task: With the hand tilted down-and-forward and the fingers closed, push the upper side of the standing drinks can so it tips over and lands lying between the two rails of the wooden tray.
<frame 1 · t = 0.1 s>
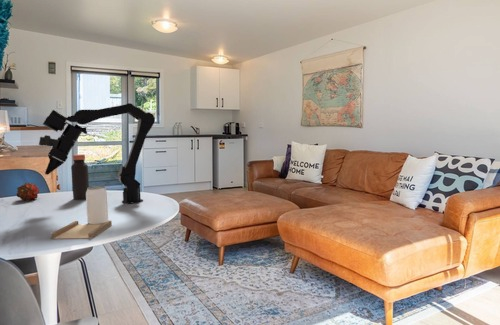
hand: (46, 172, 138), 15 cm above the table, tool tilted 35°, fingers open, 9 cm apart
wooden tray: (83, 231, 111), on the table
can: (98, 223, 121), on the table
bottle: (81, 198, 163), on the table
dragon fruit: (28, 200, 163), on the table
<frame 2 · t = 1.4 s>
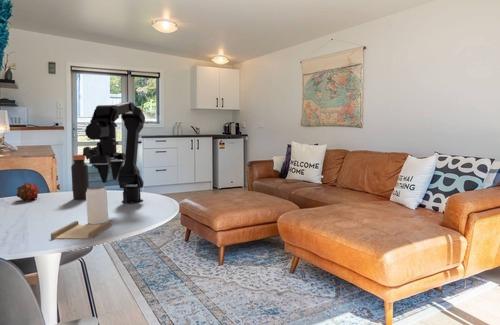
hand: (109, 181, 134), 12 cm above the table, tool pointing down, fingers open, 9 cm apart
nothing on the table moved.
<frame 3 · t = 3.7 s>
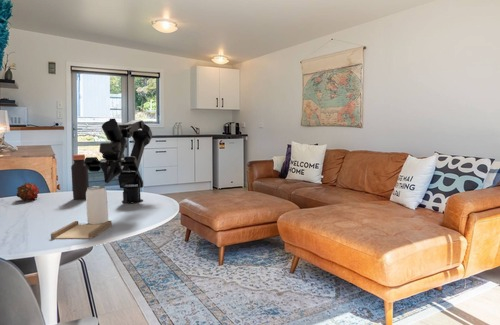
hand: (106, 182, 128), 12 cm above the table, tool tilted 45°, fingers closed
nothing on the table moved.
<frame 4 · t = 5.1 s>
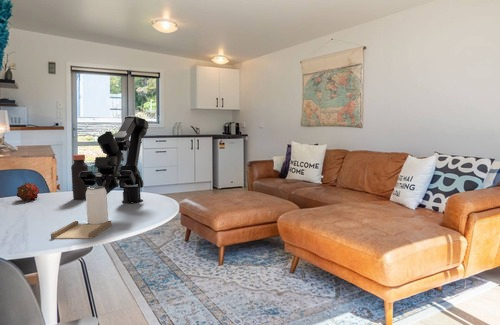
hand: (101, 197, 124), 8 cm above the table, tool tilted 45°, fingers closed
can: (98, 223, 121), on the table, touching gripper
everything else where it was.
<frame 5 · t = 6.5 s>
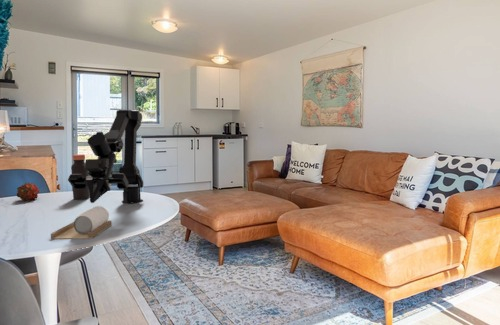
hand: (91, 202, 117), 8 cm above the table, tool tilted 45°, fingers closed
can: (99, 215, 118), point 3 cm above the table, touching wooden tray
everything else where it was.
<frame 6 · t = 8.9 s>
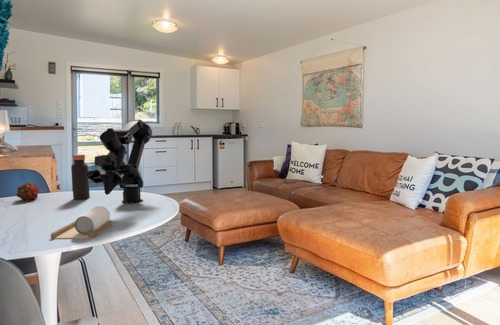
hand: (106, 194, 129), 8 cm above the table, tool tilted 40°, fingers closed
nothing on the table moved.
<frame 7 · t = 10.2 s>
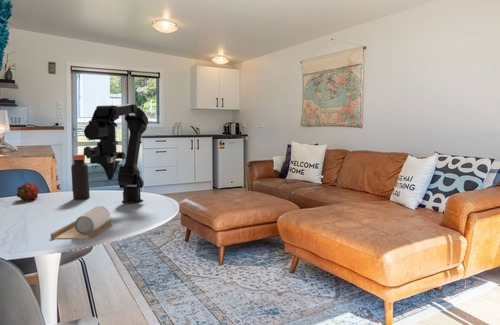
hand: (110, 179, 137), 12 cm above the table, tool pointing down, fingers closed
nothing on the table moved.
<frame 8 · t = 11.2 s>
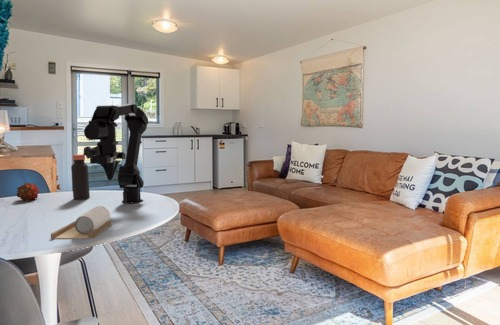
hand: (110, 179, 137), 12 cm above the table, tool pointing down, fingers closed
nothing on the table moved.
at the end: can tilted 90°; can 8.1 cm from the wooden tray (horizontally); can moved 4.8 cm from its start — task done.
